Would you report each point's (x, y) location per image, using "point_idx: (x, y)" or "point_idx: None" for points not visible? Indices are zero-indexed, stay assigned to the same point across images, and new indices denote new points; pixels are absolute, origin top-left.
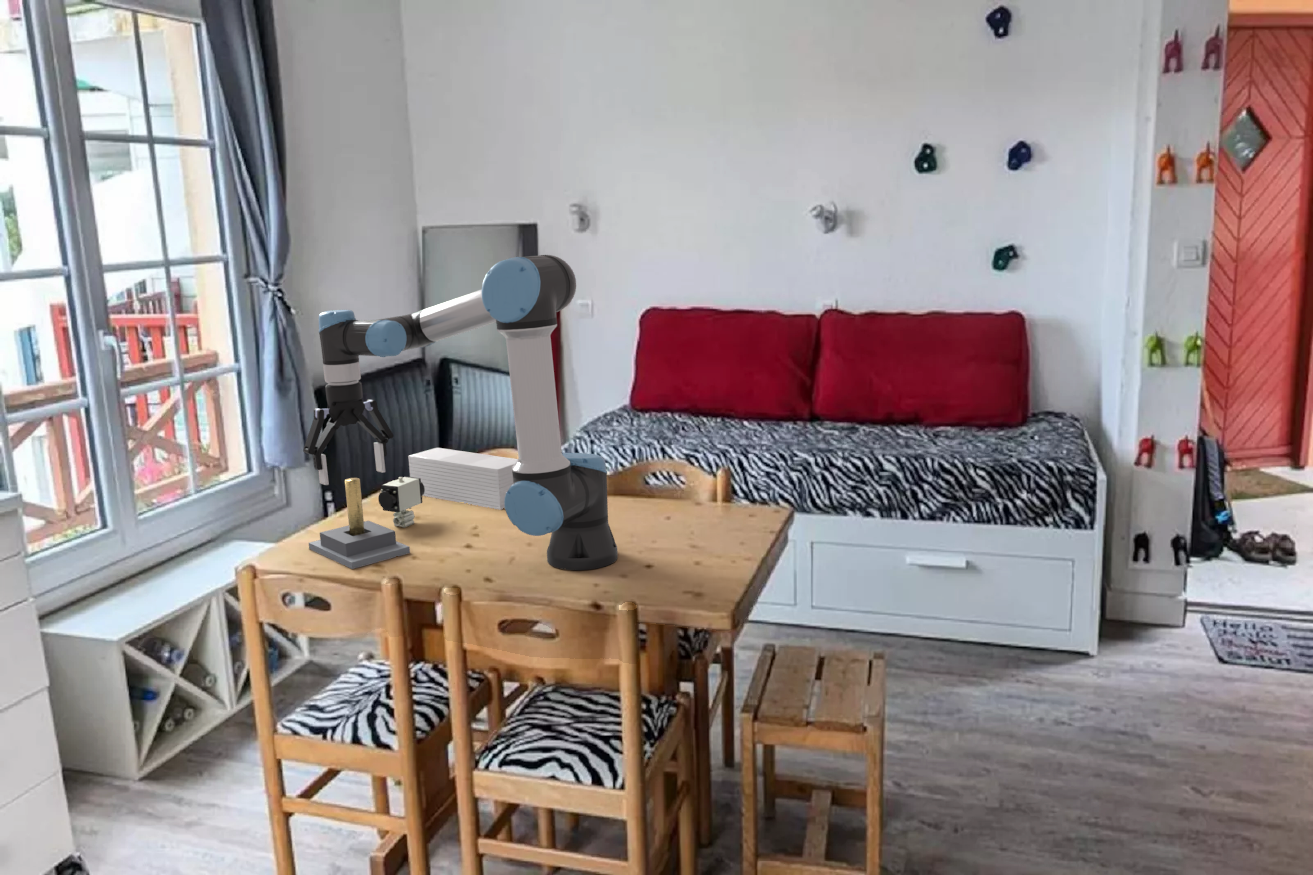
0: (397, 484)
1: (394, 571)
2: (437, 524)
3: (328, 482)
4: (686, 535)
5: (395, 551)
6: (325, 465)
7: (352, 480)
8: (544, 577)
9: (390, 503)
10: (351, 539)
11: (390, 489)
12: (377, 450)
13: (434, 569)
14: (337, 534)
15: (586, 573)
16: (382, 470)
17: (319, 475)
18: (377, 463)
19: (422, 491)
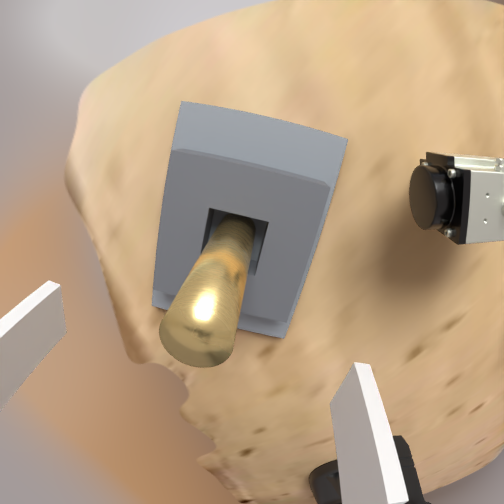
0: (486, 219)
1: None
2: (459, 246)
3: (61, 337)
4: (430, 473)
5: (250, 329)
6: (14, 385)
7: (186, 350)
8: (282, 474)
9: (417, 216)
10: (180, 278)
11: (456, 213)
12: (357, 481)
13: (238, 401)
14: (186, 211)
15: (309, 485)
16: (332, 410)
17: (26, 303)
18: (353, 407)
19: None
